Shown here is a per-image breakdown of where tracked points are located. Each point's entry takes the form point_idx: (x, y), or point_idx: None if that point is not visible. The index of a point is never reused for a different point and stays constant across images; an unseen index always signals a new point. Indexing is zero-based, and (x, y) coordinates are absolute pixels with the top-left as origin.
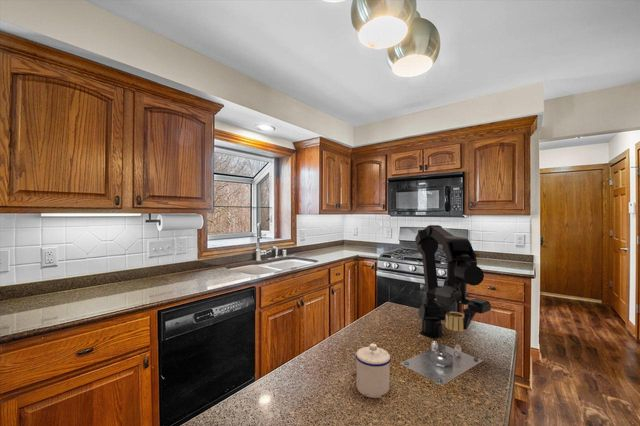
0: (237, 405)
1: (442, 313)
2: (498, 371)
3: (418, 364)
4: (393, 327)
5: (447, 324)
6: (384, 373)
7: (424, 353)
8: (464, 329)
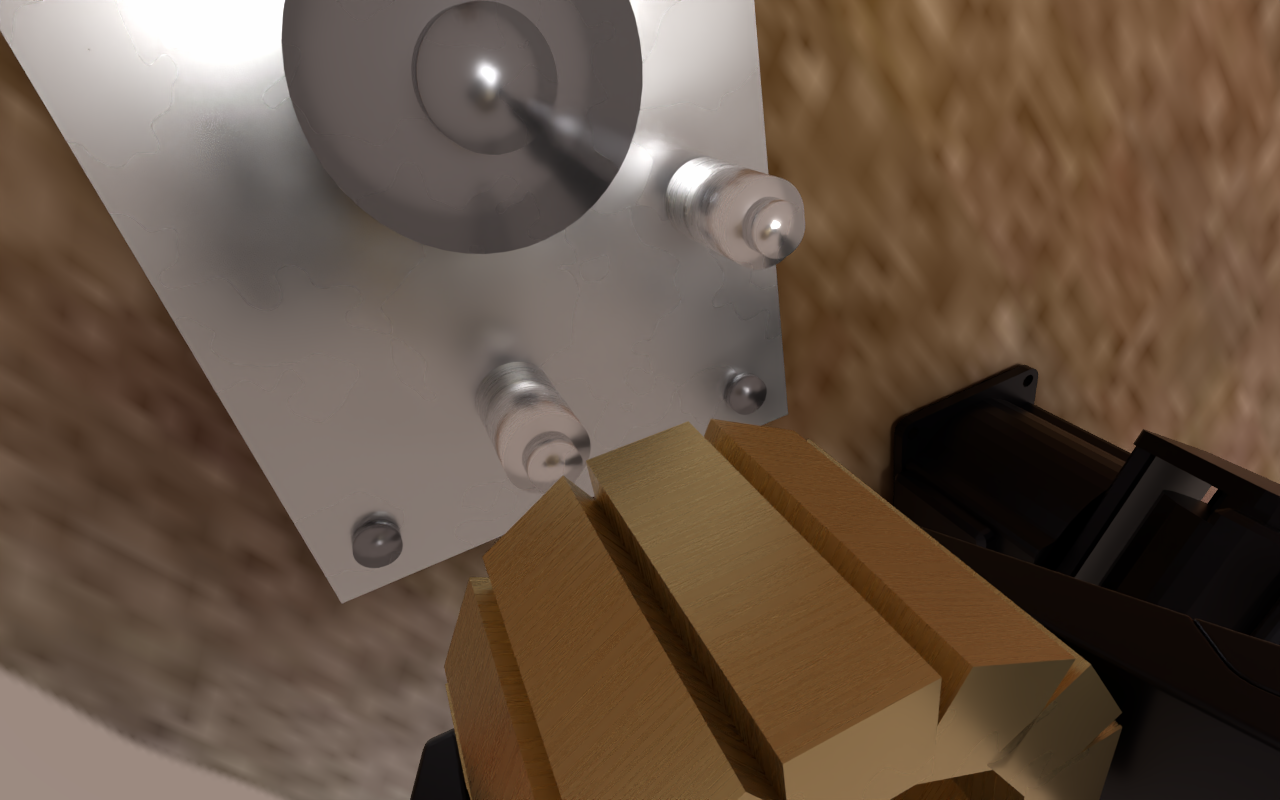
0: None
1: (1151, 616)
2: (118, 632)
3: None
4: (1220, 202)
5: (778, 468)
6: None
7: (730, 24)
8: (449, 731)
